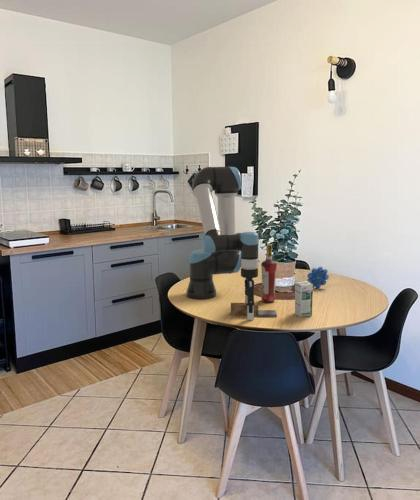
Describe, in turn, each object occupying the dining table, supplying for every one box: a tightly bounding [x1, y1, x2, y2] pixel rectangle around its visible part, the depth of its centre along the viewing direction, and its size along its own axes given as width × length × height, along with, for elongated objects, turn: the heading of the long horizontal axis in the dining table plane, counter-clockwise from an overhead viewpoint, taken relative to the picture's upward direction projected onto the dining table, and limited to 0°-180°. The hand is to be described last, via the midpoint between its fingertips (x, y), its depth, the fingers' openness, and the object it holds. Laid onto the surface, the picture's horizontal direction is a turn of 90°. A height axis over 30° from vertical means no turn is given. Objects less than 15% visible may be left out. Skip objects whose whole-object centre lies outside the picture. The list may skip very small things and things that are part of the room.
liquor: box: [260, 243, 278, 304], centre depth 213 cm, size 7×7×28 cm
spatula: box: [230, 302, 278, 318], centre depth 196 cm, size 20×6×5 cm, turn 88°
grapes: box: [306, 266, 330, 289], centre depth 237 cm, size 12×7×12 cm, turn 86°
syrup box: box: [294, 280, 314, 318], centre depth 195 cm, size 6×6×14 cm
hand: (249, 314), depth 196 cm, fingers open, 13 cm apart
